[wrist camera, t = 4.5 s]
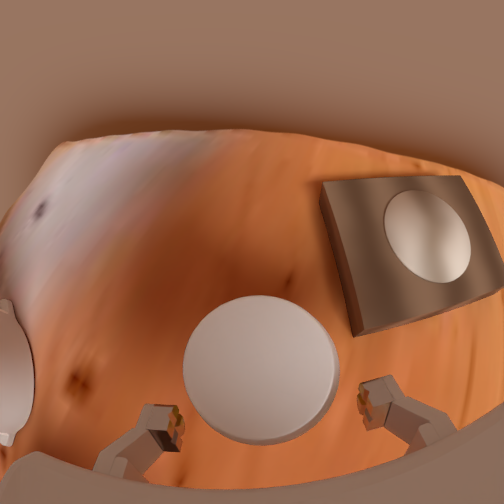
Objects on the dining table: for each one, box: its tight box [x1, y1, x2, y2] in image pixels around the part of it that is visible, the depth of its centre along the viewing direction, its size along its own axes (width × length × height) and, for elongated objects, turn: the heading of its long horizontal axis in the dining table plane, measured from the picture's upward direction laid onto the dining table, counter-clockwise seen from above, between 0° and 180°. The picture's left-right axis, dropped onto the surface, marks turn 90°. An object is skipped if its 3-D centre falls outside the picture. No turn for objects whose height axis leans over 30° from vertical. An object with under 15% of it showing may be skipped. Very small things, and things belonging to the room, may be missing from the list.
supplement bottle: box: [183, 295, 340, 445], centre depth 13 cm, size 7×7×13 cm
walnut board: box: [319, 176, 504, 337], centre depth 21 cm, size 17×13×3 cm
